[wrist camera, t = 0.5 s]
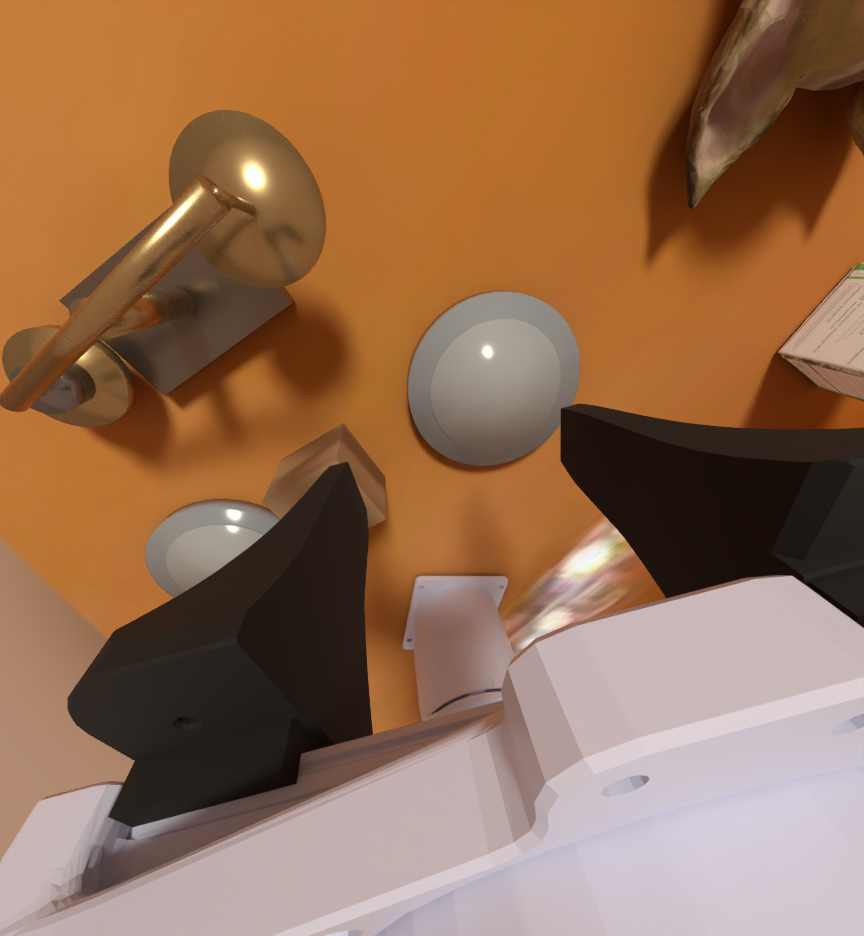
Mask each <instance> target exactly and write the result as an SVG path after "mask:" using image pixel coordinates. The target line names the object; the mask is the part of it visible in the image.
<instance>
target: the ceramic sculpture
mask: <svg viewBox="0 0 864 936" xmlns="http://www.w3.org/2000/svg"><path fill="white" fill-rule="evenodd" d="M851 84H853V85H852V89H851V92H850V96H849V99H848V104H847V108H846V121H847V123H848V126H849V128H850V131H851V133H852V136H853V138H854V140H855V143H856V145H857V146H858V148H859V149H860V150H861V151H862V153H863V155H864V0H743V2H742V3H741V5H740V7H739V9H738V11H737V13H736V16H735V17H734V19H733V21H732V23H731V24H730V26H729V28H728V30H727V32H726V33H725V35H724V37H723V39H722V40H721V42H720V44H719V46H718V48H717V50H716V52H715V53H714V54H713V56H712V58H711V60H710V63H709V65H708V68H707V70H706V72H705V75H704V77H703V80H702V82H701V84H700V87H699V90H698V92H697V95H696V98H695V101H694V104H693V107H692V112H691V117H690V126H689V133H688V138H687V142H686V159H685V162H686V180H687V196H688V206H689V208H690V209H693V208H695V207H696V206H697V205H698V203H699V202H700V201H701V200H702V198H703V197H704V195H705V194H706V193H707V191H708V190H709V189H710V187H711V186H712V184H713V183H714V182H715V181H716V180H717V179H718V178H719V177H720V176H721V175H722V174H723V173H724V172H725V171H726V170H727V169H728V168H729V167H730V166H731V165H732V164H733V163H734V162H735V161H736V160H737V159H738V158H739V157H740V156H741V155H742V154H743V153H745V152H746V151H747V150H748V149H749V148H751V147H752V146H753V145H754V144H755V143H756V142H757V141H758V140H759V139H760V138H761V137H762V136H763V135H764V134H765V133H766V132H767V130H768V129H769V128H770V127H771V126H772V124H773V123H774V121H775V120H776V118H777V117H778V116H779V114H780V113H781V112H782V110H783V109H784V108H785V106H786V105H787V104H788V103H789V101H790V100H791V99H792V96H793V94H794V92H795V89H796V88H797V87H798V88H803V89H808V90H813V91H818V90H836V89H839V88H842V87H845V86H848V85H851Z"/></svg>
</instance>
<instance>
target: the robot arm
mask: <svg viewBox="0 0 864 936" xmlns="http://www.w3.org/2000/svg"><path fill="white" fill-rule="evenodd" d="M561 462H562V464H563V465H564V467H565V468H566V470H567V472H568V473H569V475H570V476H571V478H572V479H573V480H574V482H575V483H576V484H577V485H578V487H579V488H580V489H581V490H582V491H583V492H584V493H585V494H586V496H587V497H588V498H589V499H590V500H591V501H592V502H593V503H594V504H595V505H596V507H597V508H598V509H599V510H600V511H601V512H602V513H603V514H604V515H605V516H606V517H607V519H608V520H609V521H610V522H611V523H612V524H613V525H614V526H615V527H616V528H617V530H618V531H619V532H620V533H621V534H622V536H623V537H624V538H625V539H626V541H627V542H628V543H629V545H630V546H631V547H632V549H633V550H634V552H635V553H636V554H637V556H638V557H639V558H640V560H641V561H642V563H643V564H644V565H645V567H646V568H647V570H648V571H649V573H650V574H651V576H652V577H653V579H654V580H655V582H656V583H657V585H658V586H659V588H660V589H661V591H662V592H663V594H664V595H665V597H666V598H667V599H663V600H659V601H655V602H651V603H647V604H644V605H640V606H636V607H632V608H628V609H625V610H621V611H617V612H613V613H609V614H605V615H602V616H598V617H594V618H590V619H586V620H583V621H579V622H575V623H571V624H569V625H567V626H564V627H562V628H560V629H557V630H555V631H552V632H550V633H548V634H545V635H543V636H541V637H538V638H536V639H535V640H534V641H533V642H531V643H530V644H529V645H528V646H527V647H526V648H525V649H524V650H522V651H521V652H520V653H519V654H518V655H517V656H516V657H515V656H514V653H513V651H512V648H511V645H510V642H509V639H508V637H507V634H506V631H505V628H504V625H503V623H502V620H501V617H500V614H499V611H498V607H499V604H500V602H501V599H502V597H503V594H504V592H505V589H506V587H507V584H508V580H507V578H506V577H505V576H419V577H417V578H416V579H415V583H414V588H413V593H412V598H411V603H410V608H409V613H408V618H407V623H406V628H405V633H404V638H403V643H402V645H403V649H405V650H413V651H414V661H415V670H416V680H417V690H418V700H419V710H420V716H421V720H422V722H419V723H415V724H411V725H407V726H404V727H400V728H396V729H392V730H389V731H385V732H381V733H377V734H374V735H373V731H372V721H371V710H370V698H369V685H368V671H367V655H366V637H365V612H364V598H365V581H366V568H367V554H368V538H369V531H368V517H367V509H366V506H365V504H364V501H363V499H362V496H361V493H360V491H359V488H358V486H357V483H356V481H355V478H354V475H353V473H352V470H351V468H350V465H349V463H348V462H344V463H340V464H336V465H332V466H329V467H328V468H327V469H326V470H325V471H324V472H323V473H322V475H321V476H320V477H319V478H318V479H317V480H316V481H315V483H314V484H313V485H312V486H311V487H310V488H309V490H308V491H307V492H306V493H305V494H304V495H303V496H302V498H301V499H300V500H299V501H298V502H297V503H296V504H295V505H294V506H293V507H292V508H291V509H290V510H289V511H288V512H287V513H286V514H285V515H284V516H283V517H282V519H281V520H280V521H279V522H277V523H276V524H275V525H274V526H273V527H272V528H271V529H270V530H269V531H268V532H267V533H265V534H264V535H263V536H262V537H261V538H260V539H258V540H257V541H256V542H255V543H254V544H252V545H251V546H250V547H249V548H247V549H246V550H245V551H243V552H242V553H241V554H239V555H238V556H237V557H235V558H234V559H233V560H231V561H230V562H229V563H227V564H226V565H225V566H223V567H222V568H220V569H219V570H218V571H216V572H215V573H213V574H212V575H210V576H209V577H207V578H206V579H204V580H203V581H201V582H199V583H198V584H196V585H195V586H193V587H191V588H190V589H188V590H187V591H185V592H183V593H182V594H180V595H178V596H177V597H175V598H173V599H172V600H170V601H168V602H167V603H165V604H163V605H161V606H159V607H157V608H156V609H154V610H152V611H150V612H148V613H147V614H145V615H143V616H141V617H139V618H137V619H136V620H134V621H132V622H130V623H128V624H126V625H125V626H123V627H121V628H119V629H117V630H115V631H114V632H113V633H112V635H111V636H110V638H109V639H108V641H107V642H106V643H105V645H104V646H103V648H102V649H101V651H100V652H99V654H98V655H97V656H96V658H95V659H94V661H93V662H92V664H91V665H90V666H89V668H88V669H87V671H86V672H85V673H84V675H83V677H82V678H81V679H80V681H79V682H78V684H77V685H76V686H75V688H74V689H73V691H72V692H71V694H70V695H69V697H68V711H69V714H70V715H71V717H72V719H73V721H74V722H75V724H76V725H77V726H79V727H80V728H81V729H82V730H84V731H85V732H86V733H88V734H89V735H91V736H93V737H94V738H96V739H98V740H100V741H101V742H103V743H105V744H107V745H109V746H110V747H112V748H114V749H115V750H117V751H119V752H121V753H122V754H124V755H126V756H127V757H129V758H131V759H133V760H135V762H134V764H133V766H132V768H131V770H130V772H129V774H128V776H127V778H126V780H125V782H115V781H108V782H101V783H96V784H92V785H89V786H85V787H81V788H77V789H74V790H70V791H66V792H62V793H58V794H55V795H51V796H47V797H45V798H43V799H42V800H40V801H39V802H38V803H37V805H36V806H35V808H34V809H33V811H32V812H31V814H30V816H29V817H28V819H27V821H26V822H25V823H24V825H23V827H22V828H21V830H20V832H19V833H18V835H17V836H16V838H15V839H14V841H13V843H12V844H11V846H10V847H9V849H8V851H7V852H6V854H5V855H4V857H3V858H2V860H1V862H0V936H864V428H851V429H813V430H777V429H750V428H732V427H719V426H709V425H699V424H691V423H683V422H676V421H670V420H664V419H658V418H653V417H648V416H642V415H637V414H633V413H628V412H623V411H618V410H614V409H609V408H604V407H599V406H593V405H587V404H576V405H572V406H568V407H564V408H561Z"/></svg>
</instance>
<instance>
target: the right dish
mask: <svg viewBox="0 0 864 936" xmlns="http://www.w3.org/2000/svg"><path fill="white" fill-rule="evenodd" d="M579 376H580V357H579V351H578V346H577V343H576V340H575V337H574V335H573V333H572V331H571V329H570V327H569V325H568V324H567V322H566V321H565V320H564V319H563V317H562V316H561V315H560V314H559V313H558V312H557V311H556V310H555V309H554V308H552V307H551V306H549V305H548V304H546V303H545V302H543V301H541V300H539V299H537V298H535V297H532V296H528V295H525V294H521V293H516V292H509V291H490V292H485V293H480V294H476V295H473V296H470V297H468V298H465V299H463V300H461V301H459V302H457V303H455V304H454V305H452V306H451V307H449V308H448V309H447V310H445V311H444V312H443V313H442V314H441V315H439V316H438V317H437V318H436V319H435V320H434V321H433V322H432V323H431V325H430V326H429V327H428V328H427V329H426V331H425V332H424V334H423V335H422V337H421V338H420V340H419V342H418V344H417V346H416V348H415V350H414V352H413V355H412V358H411V361H410V365H409V370H408V377H407V394H408V401H409V406H410V410H411V414H412V417H413V419H414V422H415V425H416V426H417V428H418V430H419V432H420V434H421V435H422V436H423V438H424V439H425V441H426V442H427V443H428V444H429V445H430V446H431V447H432V448H433V449H435V450H436V451H437V452H439V453H440V454H442V455H443V456H445V457H447V458H449V459H451V460H453V461H456V462H459V463H463V464H466V465H474V466H490V465H498V464H502V463H506V462H509V461H512V460H515V459H517V458H520V457H522V456H524V455H526V454H527V453H529V452H531V451H533V450H534V449H535V448H537V447H538V446H540V445H541V444H542V443H543V442H544V441H546V440H547V439H548V438H549V437H550V436H551V435H552V434H553V433H554V431H555V430H556V429H557V428H558V427H559V425H560V424H561V408H564V407H568V406H571V405H572V403H573V401H574V398H575V395H576V392H577V388H578V383H579Z"/></svg>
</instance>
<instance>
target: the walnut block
mask: <svg viewBox="0 0 864 936" xmlns="http://www.w3.org/2000/svg"><path fill="white" fill-rule="evenodd" d="M344 462H348V463H349V465H350V468H351V470H352V473H353V475H354V478H355V481H356V483H357V486H358V488H359V491H360V493H361V496H362V499H363V501H364V504H365V506H366V509H367V517H368V529H369V528H371V527H373V526H374V525H376V524H378V523H380V522H382V521H384V520H386V519H387V515H386V494H385V476H384V475H383V474H382V472H381V471H380V470H379V468H378V467H377V466H376V465H375V463H374V462H373V461H372V459H371V458H370V457H369V455H368V454H367V453H366V452H365V450H364V449H363V448H362V446H361V445H360V444H359V443H358V441H357V440H356V439H355V437H354V436H353V435H352V433H351V432H350V431H349V430H348V428H347V427H346V426H345V424H344V423H343V424H341V425H339V426H338V427H336V428H334V429H333V430H331V431H329V432H327V433H326V434H324V435H322V436H321V437H319V438H317V439H316V440H314V441H312V442H311V443H309V444H307V445H305V446H304V447H302V448H300V449H299V450H297V451H295V452H294V453H292V454H290V455H289V456H287V457H285V458H283V459H282V461H281V463H280V465H279V467H278V469H277V471H276V474H275V476H274V478H273V480H272V482H271V484H270V486H269V489H268V491H267V493H266V495H265V497H264V499H263V501H262V503H263V504H265V505H266V506H267V507H268V508H269V509H270V510H271V511H272V512H273V513H274V514H276V515H277V516H278V517H279V518H280V519H282V517H283V516H284V515H285V514H286V513H287V512H288V511H289V510H290V509H291V508H292V507H293V506H294V505H295V504H296V503H297V502H298V501H299V500H300V499H301V498H302V496H303V495H304V494H305V493H306V492H307V491H308V490H309V488H310V487H311V486H312V485H313V484H314V483H315V481H316V480H317V479H318V478H319V477H320V476H321V475H322V473H323V472H324V471H325V470H326V469H327V468H328V467H329V466H332V465H336V464H340V463H344Z"/></svg>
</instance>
